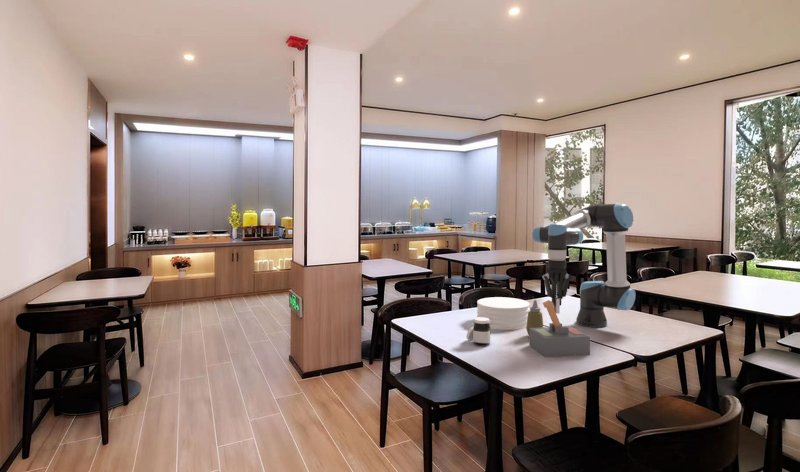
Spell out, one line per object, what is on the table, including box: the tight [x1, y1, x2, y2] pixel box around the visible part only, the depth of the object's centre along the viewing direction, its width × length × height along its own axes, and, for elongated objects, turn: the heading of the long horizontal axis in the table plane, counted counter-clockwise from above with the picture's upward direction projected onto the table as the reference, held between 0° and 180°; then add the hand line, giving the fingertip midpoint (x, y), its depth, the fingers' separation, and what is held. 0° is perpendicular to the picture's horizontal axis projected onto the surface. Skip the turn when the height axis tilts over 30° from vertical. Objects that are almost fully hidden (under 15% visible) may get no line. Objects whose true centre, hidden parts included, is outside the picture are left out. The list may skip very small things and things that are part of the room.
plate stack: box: [476, 296, 531, 331], centre depth 233 cm, size 28×28×12 cm
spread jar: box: [466, 316, 491, 347], centre depth 198 cm, size 12×11×12 cm
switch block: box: [528, 322, 591, 358], centre depth 187 cm, size 20×16×11 cm
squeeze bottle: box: [525, 299, 544, 336], centre depth 206 cm, size 8×8×18 cm
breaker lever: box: [542, 299, 562, 327], centre depth 186 cm, size 3×4×14 cm
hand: (556, 312), depth 185 cm, fingers closed
